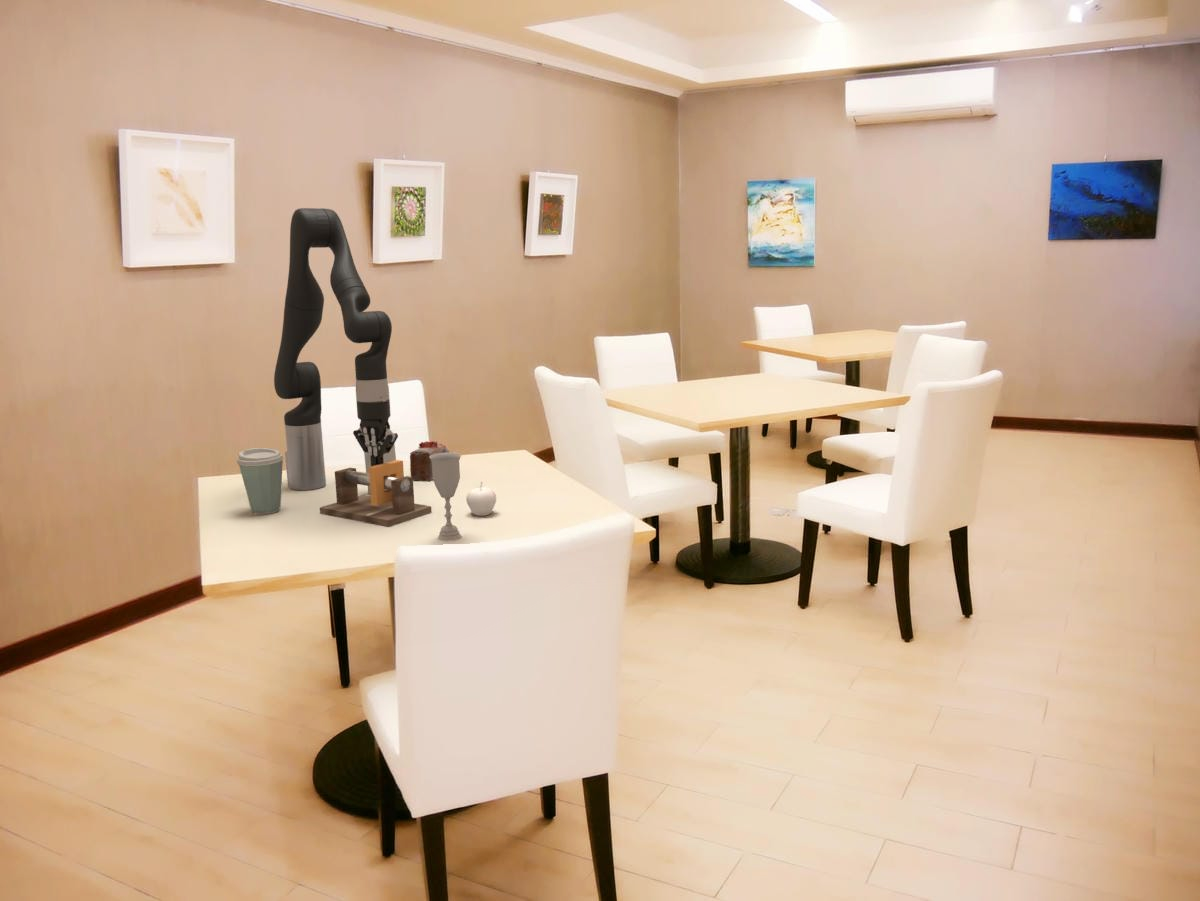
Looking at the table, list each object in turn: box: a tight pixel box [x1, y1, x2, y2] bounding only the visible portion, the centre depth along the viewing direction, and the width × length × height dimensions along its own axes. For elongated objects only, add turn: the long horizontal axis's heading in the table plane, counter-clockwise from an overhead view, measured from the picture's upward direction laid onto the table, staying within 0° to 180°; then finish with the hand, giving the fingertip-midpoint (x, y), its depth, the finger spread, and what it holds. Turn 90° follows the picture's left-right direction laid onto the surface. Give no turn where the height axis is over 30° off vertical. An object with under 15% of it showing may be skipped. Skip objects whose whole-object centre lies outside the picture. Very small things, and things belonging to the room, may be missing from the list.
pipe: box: [344, 470, 410, 492], centre depth 229 cm, size 21×3×3 cm, turn 57°
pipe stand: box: [319, 467, 432, 528], centre depth 230 cm, size 23×14×10 cm, turn 57°
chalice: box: [429, 452, 462, 541], centre depth 208 cm, size 7×7×18 cm
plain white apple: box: [465, 481, 497, 517], centre depth 227 cm, size 7×7×8 cm
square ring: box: [369, 459, 405, 506], centre depth 227 cm, size 2×9×9 cm, turn 146°
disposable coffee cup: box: [236, 447, 284, 516], centre depth 232 cm, size 11×11×15 cm
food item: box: [409, 441, 450, 482], centre depth 268 cm, size 14×8×10 cm, turn 170°
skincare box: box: [363, 441, 397, 494], centre depth 247 cm, size 8×6×15 cm
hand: (377, 470), depth 228 cm, fingers closed
